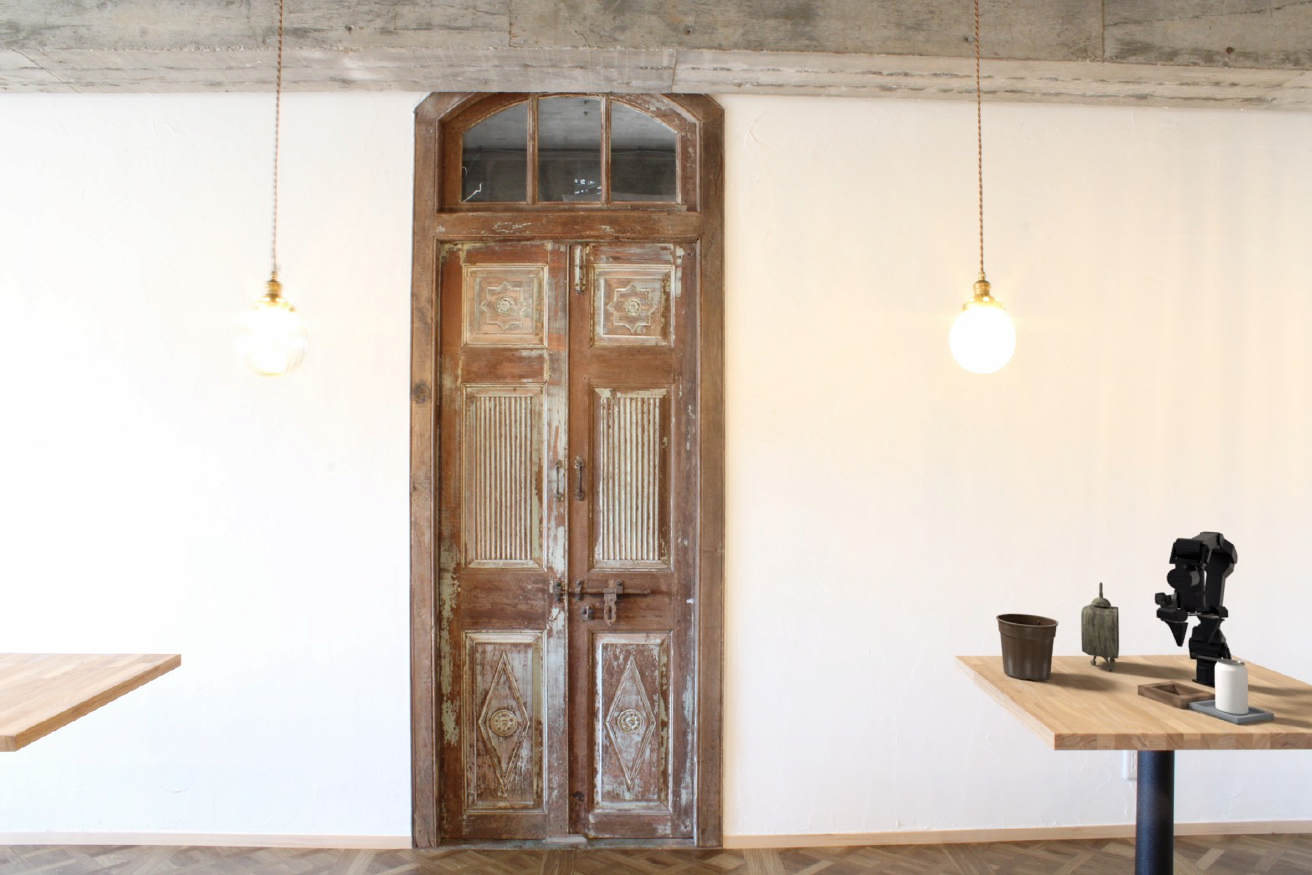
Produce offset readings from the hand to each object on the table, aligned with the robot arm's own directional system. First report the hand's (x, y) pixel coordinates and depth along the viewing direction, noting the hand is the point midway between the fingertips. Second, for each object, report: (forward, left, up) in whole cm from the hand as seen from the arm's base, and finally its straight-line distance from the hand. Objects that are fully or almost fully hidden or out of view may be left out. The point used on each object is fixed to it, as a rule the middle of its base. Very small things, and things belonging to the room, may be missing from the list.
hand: (1192, 645), depth 204 cm
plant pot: (+28, -28, -13) cm, 42 cm away
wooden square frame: (+8, +1, -13) cm, 15 cm away
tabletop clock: (0, -29, -13) cm, 32 cm away
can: (+5, +14, -13) cm, 20 cm away
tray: (+6, +14, -13) cm, 20 cm away
